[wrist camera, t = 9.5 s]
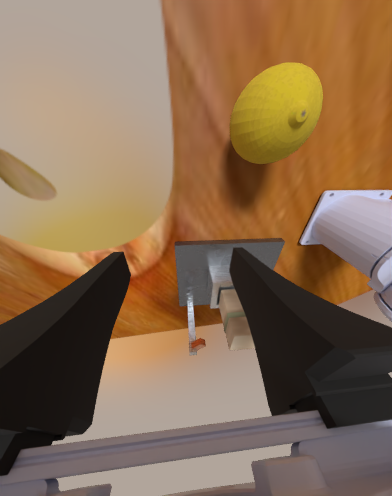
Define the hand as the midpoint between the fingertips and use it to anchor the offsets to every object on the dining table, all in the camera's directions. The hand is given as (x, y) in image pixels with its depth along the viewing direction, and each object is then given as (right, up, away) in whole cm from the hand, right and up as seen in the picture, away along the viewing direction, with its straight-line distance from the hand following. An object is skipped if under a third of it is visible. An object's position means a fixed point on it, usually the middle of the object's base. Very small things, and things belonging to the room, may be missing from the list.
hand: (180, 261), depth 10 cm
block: (+6, -6, +12) cm, 15 cm away
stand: (+6, -4, +16) cm, 17 cm away
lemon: (+6, +13, +5) cm, 15 cm away
